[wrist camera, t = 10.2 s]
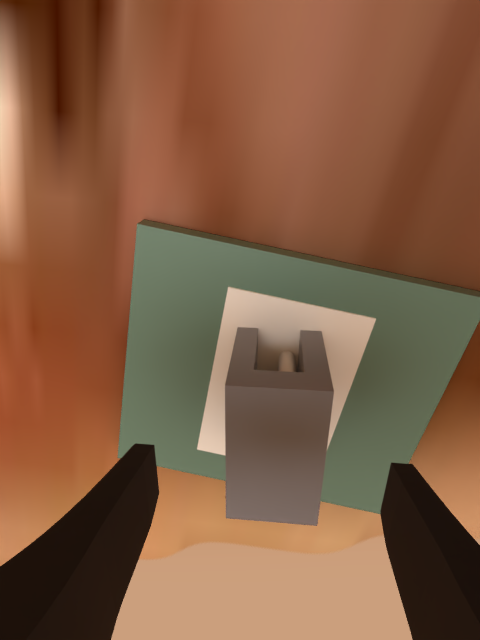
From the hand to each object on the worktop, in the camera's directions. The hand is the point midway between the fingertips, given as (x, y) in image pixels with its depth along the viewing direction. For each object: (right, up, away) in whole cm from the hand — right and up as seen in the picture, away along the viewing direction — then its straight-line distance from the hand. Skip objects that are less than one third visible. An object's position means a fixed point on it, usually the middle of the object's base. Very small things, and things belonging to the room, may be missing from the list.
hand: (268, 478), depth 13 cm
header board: (+1, +2, +9) cm, 10 cm away
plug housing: (+1, +1, +8) cm, 9 cm away
